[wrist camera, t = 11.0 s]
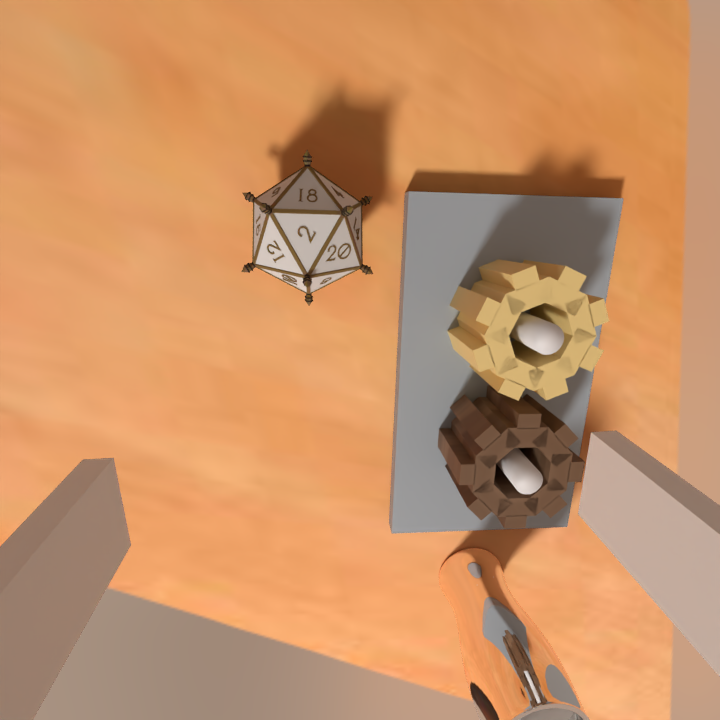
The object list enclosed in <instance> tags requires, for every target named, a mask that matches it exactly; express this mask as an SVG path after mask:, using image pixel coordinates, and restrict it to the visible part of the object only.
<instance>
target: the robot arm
mask: <svg viewBox="0 0 720 720" xmlns="http://www.w3.org/2000/svg"><path fill="white" fill-rule="evenodd" d="M578 514H579V516H580V517H581V518H582V519H583V520H584V521H585V523H586V524H587V525H588V526H589V527H590V528H591V529H592V531H593V532H594V533H595V534H596V535H597V536H598V537H599V539H600V540H601V541H602V542H603V543H604V544H605V546H606V547H607V548H608V549H609V550H610V551H611V552H612V554H613V555H614V556H615V557H616V558H617V559H618V560H619V562H620V563H621V564H622V565H623V566H624V567H625V568H626V570H627V571H628V572H629V573H630V574H631V575H632V577H633V578H634V579H635V580H636V581H637V582H638V583H639V585H640V586H641V587H642V588H643V589H644V590H645V591H646V593H647V594H648V595H649V596H650V597H651V598H652V599H653V601H654V602H655V603H656V604H657V605H658V606H659V608H660V609H661V610H662V611H663V612H664V613H665V614H666V616H667V617H668V618H669V619H670V620H671V621H672V622H673V624H674V625H675V626H676V627H677V628H678V629H679V631H680V632H681V633H682V634H683V635H684V636H685V637H686V639H687V640H688V641H689V642H690V643H691V644H692V645H693V647H694V648H695V649H696V650H697V651H698V652H699V653H700V655H701V656H702V657H703V658H704V659H705V660H706V661H707V663H708V664H709V665H710V666H711V667H712V668H713V670H714V671H715V672H716V673H717V674H718V675H719V676H720V505H718V504H717V503H716V502H714V501H713V500H711V499H710V498H708V497H707V496H706V495H704V494H703V493H702V492H700V491H699V490H697V489H696V488H695V487H693V486H692V485H691V484H689V483H688V482H686V481H685V480H684V479H682V478H681V477H680V476H678V475H677V474H675V473H674V472H673V471H671V470H670V469H669V468H667V467H666V466H664V465H663V464H662V463H660V462H659V461H658V460H656V459H655V458H653V457H652V456H651V455H649V454H648V453H646V452H645V451H644V450H642V449H641V448H640V447H638V446H637V445H635V444H634V443H633V442H631V441H630V440H629V439H627V438H626V437H624V436H623V435H622V434H620V433H619V432H617V431H604V432H591V436H590V442H589V448H588V455H587V461H586V467H585V474H584V480H583V486H582V493H581V499H580V505H579V511H578ZM130 546H131V543H130V538H129V533H128V528H127V523H126V518H125V513H124V508H123V503H122V498H121V493H120V488H119V483H118V478H117V473H116V468H115V463H114V458H103V459H84V460H82V461H81V462H80V463H79V464H78V465H77V466H76V467H75V469H74V470H73V471H72V472H71V473H70V474H69V475H68V476H67V477H66V478H65V479H64V480H63V481H62V482H61V483H60V484H59V485H58V486H57V487H56V489H55V490H54V491H53V492H52V493H51V494H50V495H49V496H48V497H47V498H46V499H45V500H44V501H43V502H42V503H41V504H40V505H39V506H38V507H37V509H36V510H35V511H34V512H33V513H32V514H31V515H30V516H29V517H28V518H27V519H26V520H25V521H24V522H23V523H22V524H21V525H20V526H19V527H18V528H17V530H16V531H15V532H14V533H13V534H12V535H11V536H10V537H9V538H8V539H7V540H6V541H5V542H4V543H3V544H2V545H1V546H0V720H33V719H34V717H35V715H36V713H37V711H38V710H39V708H40V706H41V704H42V702H43V701H44V699H45V697H46V695H47V694H48V692H49V690H50V688H51V686H52V685H53V683H54V681H55V679H56V678H57V676H58V674H59V672H60V670H61V668H62V667H63V665H64V663H65V662H66V660H67V658H68V656H69V654H70V653H71V651H72V649H73V647H74V646H75V644H76V642H77V640H78V638H79V637H80V635H81V633H82V631H83V629H84V628H85V626H86V624H87V622H88V620H89V619H90V617H91V615H92V613H93V611H94V610H95V608H96V606H97V605H98V603H99V601H100V599H101V597H102V595H103V594H104V592H105V590H106V588H107V587H108V585H109V583H110V581H111V580H112V578H113V576H114V574H115V572H116V571H117V569H118V567H119V565H120V564H121V562H122V560H123V558H124V556H125V555H126V553H127V551H128V549H129V547H130Z"/></svg>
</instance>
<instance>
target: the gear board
mask: <svg viewBox="0 0 720 720" xmlns="http://www.w3.org/2000/svg"><path fill="white" fill-rule="evenodd" d="M622 204H623V198H595V197H565V196H535V195H504V194H474V193H444V192H414V191H408V192H406V193H405V201H404V222H403V243H402V264H401V285H400V306H399V327H398V348H397V369H396V390H395V411H394V432H393V452H392V473H391V494H390V515H389V524H390V528H391V532H392V533H416V532H443V531H470V530H497V529H504V527H503V526H502V524H501V522H500V521H499V519H498V518H497V516H496V515H495V514H494V513H492V512H491V513H490V514H488V515H487V516H486V517H485V518H484V519H483V520H480V519H479V518H478V517H477V516H476V515H475V514H474V513H473V512H472V511H471V510H470V509H469V508H467V506H466V504H465V502H464V500H463V498H462V497H461V495H460V493H459V491H458V489H457V487H456V485H455V484H454V482H453V480H452V478H451V476H450V474H449V472H448V471H447V469H446V467H445V465H446V464H447V462H446V460H445V459H444V457H443V455H442V453H441V451H440V450H439V448H438V435H439V428H451V422H452V420H453V419H454V418H455V417H456V415H455V414H454V413H453V411H452V410H451V409H450V407H451V406H452V405H453V404H454V403H455V402H457V401H458V400H459V399H460V398H461V397H462V396H463V395H464V394H465V395H466V396H467V397H468V398H469V400H470V401H471V402H473V401H475V400H476V399H477V398H478V397H486V394H487V385H489V384H488V383H487V382H486V381H485V380H484V379H483V378H482V377H481V376H479V375H478V374H477V373H476V372H475V371H474V370H473V369H472V368H471V367H469V366H470V363H468V362H467V361H466V360H465V359H464V358H463V357H462V356H460V355H459V354H458V353H457V352H456V351H455V350H454V349H453V346H452V343H451V340H450V337H449V334H448V330H450V329H453V328H455V327H458V326H459V323H458V320H457V317H458V315H459V313H460V311H458V310H456V309H455V308H453V307H451V306H450V303H451V301H452V299H453V297H454V294H455V292H456V290H457V288H458V286H461V287H463V288H466V289H468V290H471V289H472V287H473V285H474V283H476V282H478V281H481V280H482V277H481V274H480V271H479V267H480V266H483V265H485V264H488V263H490V262H493V261H495V260H498V259H500V260H506V261H512V262H519V263H523V261H524V260H529V261H536V262H543V263H550V264H557V265H563V266H567V267H569V268H571V269H573V270H575V271H577V272H579V273H581V274H583V275H585V276H587V277H586V279H585V280H584V282H583V284H582V286H581V288H580V290H579V291H580V292H582V293H584V294H587V295H592V296H596V297H600V298H604V301H605V303H606V297H607V292H608V286H609V280H610V274H611V268H612V262H613V256H614V251H615V245H616V239H617V233H618V227H619V221H620V216H621V210H622ZM601 327H602V324H601V325H599V326H596V327H595V331H596V335H597V336H596V338H595V340H594V342H593V343H592V345H593V346H595V347H597V348H598V344H599V338H600V332H601ZM509 338H510V341H511V342H512V341H515V340H517V341H519V342H521V343H523V344H524V345H526V346H528V347H530V348H531V349H533V350H535V351H537V352H539V353H541V354H544V355H550V354H553V353H555V352H556V351H558V350H559V349H560V348H561V346H562V344H563V342H564V333H563V330H562V329H561V328H560V327H559V326H558V325H556V324H553V323H551V322H548V321H546V320H543V319H540V318H538V317H535V316H533V315H531V314H530V311H529V309H528V310H526V311H523V312H521V314H520V316H519V317H518V319H517V321H516V323H515V325H514V327H513V329H512V331H511V333H510V335H509ZM593 373H594V369H593V370H592V372H591V371H588V370H586V369H584V368H582V367H579V368H578V370H577V371H576V373H575V375H573V376H571V377H568V378H566V379H565V380H566V384H567V387H568V391H569V392H567V393H564V394H562V395H559V396H556V397H554V398H551V399H549V400H545V399H544V398H542V397H541V396H540V395H538V394H537V393H536V392H534V391H532V390H530V389H528V388H525V390H524V391H523V393H522V395H521V397H522V398H523V397H524V396H525V395H526V394H528V395H529V396H531V397H532V398H533V399H534V400H536V401H537V402H538V403H540V404H541V405H542V406H543V407H545V408H546V409H547V410H548V411H550V412H551V413H552V414H554V415H555V416H556V417H557V418H559V419H560V420H561V421H563V422H564V423H565V424H566V425H567V426H568V427H569V428H570V429H571V431H572V432H573V433H574V434H575V435H576V436H577V437H578V438H579V439H577V440H576V441H575V442H574V443H573V444H572V445H570V446H569V447H568V448H569V449H571V450H572V451H573V452H574V453H575V454H576V455H577V456H579V455H580V449H581V443H582V437H583V432H584V426H585V420H586V414H587V408H588V402H589V397H590V391H591V385H592V379H593ZM496 464H497V465H498V466H499V467H500V469H501V470H502V471H503V473H504V474H505V475H506V477H507V478H508V479H509V480H510V482H511V483H512V484H513V486H514V487H515V488H516V490H517V491H518V492H520V493H522V494H532V493H534V492H536V491H537V490H538V489H539V488H540V487H541V485H542V482H543V476H542V474H541V473H540V471H539V470H538V469H537V468H536V467H535V466H534V465H533V464H532V463H531V462H530V461H529V460H528V458H527V457H526V456H525V455H524V454H523V453H522V452H521V451H520V450H519V449H518V448H514V449H512V450H511V451H510V452H509V453H508V454H507V455H505V456H504V457H503V458H502V459H501V460H500V461H498V462H497V463H496ZM574 484H575V482H568V485H567V490H566V491H565V492H564V493H563V494H561V495H560V497H561V498H562V499H563V500H564V501H565V502H566V503H567V505H566V506H565V507H563V508H562V509H561V510H560V511H559V512H557V513H556V514H555V515H554V516H553V517H551V518H550V517H549V516H548V515H547V514H546V513H545V512H544V511H543V510H542V511H541V512H540V513H538V514H537V515H536V516H527V520H526V527H525V528H551V527H567V525H568V519H569V513H570V507H571V502H572V496H573V490H574ZM509 529H524V528H509Z"/></svg>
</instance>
